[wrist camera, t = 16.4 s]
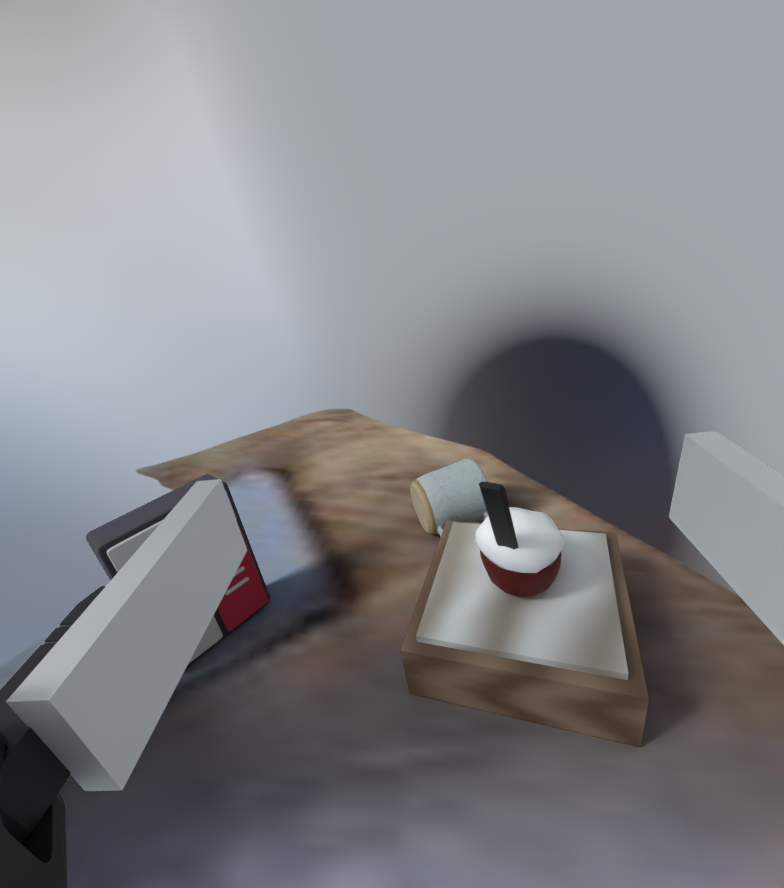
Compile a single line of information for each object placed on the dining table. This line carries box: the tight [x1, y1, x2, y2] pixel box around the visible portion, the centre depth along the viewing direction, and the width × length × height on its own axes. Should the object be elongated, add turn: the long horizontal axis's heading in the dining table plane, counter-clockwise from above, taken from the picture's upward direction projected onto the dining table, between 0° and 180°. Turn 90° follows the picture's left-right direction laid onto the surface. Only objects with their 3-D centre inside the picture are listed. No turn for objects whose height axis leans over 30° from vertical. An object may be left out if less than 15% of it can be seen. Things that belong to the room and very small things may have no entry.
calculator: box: [86, 474, 270, 664], centre depth 39 cm, size 11×4×15 cm, turn 139°
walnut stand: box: [401, 520, 649, 747], centre depth 36 cm, size 16×16×6 cm
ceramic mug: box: [410, 459, 488, 537], centre depth 49 cm, size 11×8×8 cm
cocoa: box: [475, 481, 565, 597], centre depth 32 cm, size 10×6×12 cm, turn 125°
